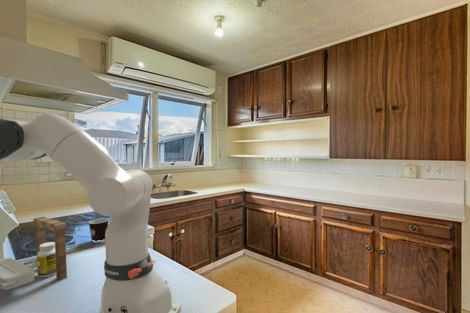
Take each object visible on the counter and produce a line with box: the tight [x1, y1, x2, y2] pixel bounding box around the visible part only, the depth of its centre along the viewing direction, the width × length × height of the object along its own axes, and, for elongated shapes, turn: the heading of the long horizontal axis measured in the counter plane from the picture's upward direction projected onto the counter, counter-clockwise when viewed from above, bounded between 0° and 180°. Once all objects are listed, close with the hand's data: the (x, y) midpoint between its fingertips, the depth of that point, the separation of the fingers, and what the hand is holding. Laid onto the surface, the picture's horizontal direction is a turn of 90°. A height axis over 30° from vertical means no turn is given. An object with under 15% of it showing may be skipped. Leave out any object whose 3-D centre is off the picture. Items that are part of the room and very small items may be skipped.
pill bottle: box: [36, 241, 56, 278], centre depth 93 cm, size 6×6×11 cm
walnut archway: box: [33, 216, 68, 281], centre depth 93 cm, size 18×3×20 cm, turn 59°
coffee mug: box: [88, 218, 109, 241], centre depth 124 cm, size 12×9×10 cm
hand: (38, 262), depth 90 cm, fingers closed, pressing on pill bottle
